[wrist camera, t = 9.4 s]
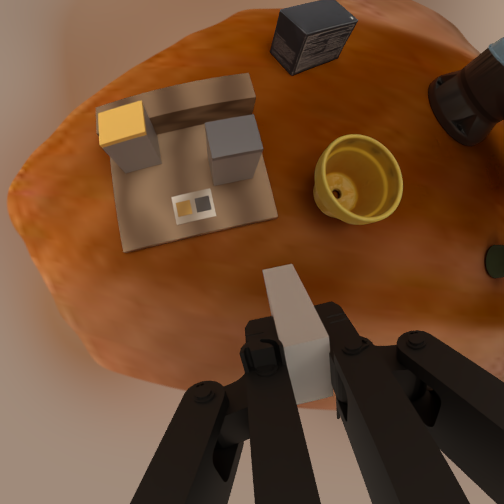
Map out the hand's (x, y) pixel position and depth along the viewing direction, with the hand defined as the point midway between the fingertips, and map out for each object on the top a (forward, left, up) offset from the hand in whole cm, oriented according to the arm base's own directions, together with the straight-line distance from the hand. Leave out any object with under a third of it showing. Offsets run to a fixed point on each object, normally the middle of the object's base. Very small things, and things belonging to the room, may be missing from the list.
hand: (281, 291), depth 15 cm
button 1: (-1, -14, -22) cm, 26 cm away
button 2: (+10, -19, -22) cm, 31 cm away
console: (+4, -16, -24) cm, 29 cm away
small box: (-18, -33, -24) cm, 45 cm away
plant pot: (-15, -8, -24) cm, 29 cm away
